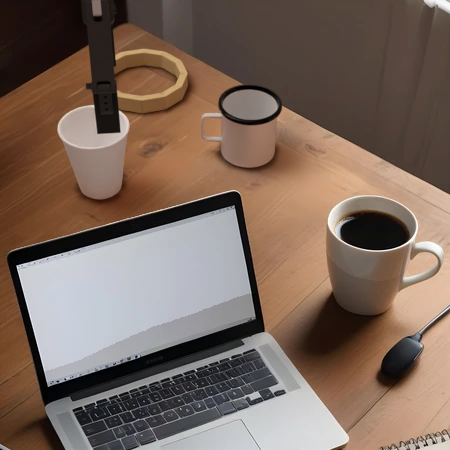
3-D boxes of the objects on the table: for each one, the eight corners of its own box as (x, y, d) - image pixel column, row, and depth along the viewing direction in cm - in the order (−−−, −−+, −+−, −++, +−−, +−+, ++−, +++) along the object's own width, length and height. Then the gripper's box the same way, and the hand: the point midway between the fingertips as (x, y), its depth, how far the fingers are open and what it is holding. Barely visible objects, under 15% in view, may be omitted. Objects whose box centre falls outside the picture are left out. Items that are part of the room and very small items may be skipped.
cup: (64, 169, 126) (54, 108, 117) (129, 162, 127) (124, 101, 119) (70, 213, 120) (60, 152, 111) (139, 205, 121) (134, 144, 113)
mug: (277, 133, 133) (281, 84, 126) (278, 172, 126) (283, 122, 120) (202, 131, 132) (202, 82, 126) (199, 170, 126) (199, 120, 119)
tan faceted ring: (88, 105, 136) (87, 92, 134) (115, 56, 145) (114, 44, 143) (174, 118, 134) (173, 105, 133) (195, 68, 143) (195, 55, 142)
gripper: (132, -19, 78) (143, 160, 94) (121, -132, 94) (132, 39, 110) (51, -16, 77) (77, 164, 94) (53, -130, 93) (75, 41, 109)
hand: (107, 97), depth 102 cm, fingers open, 13 cm apart
